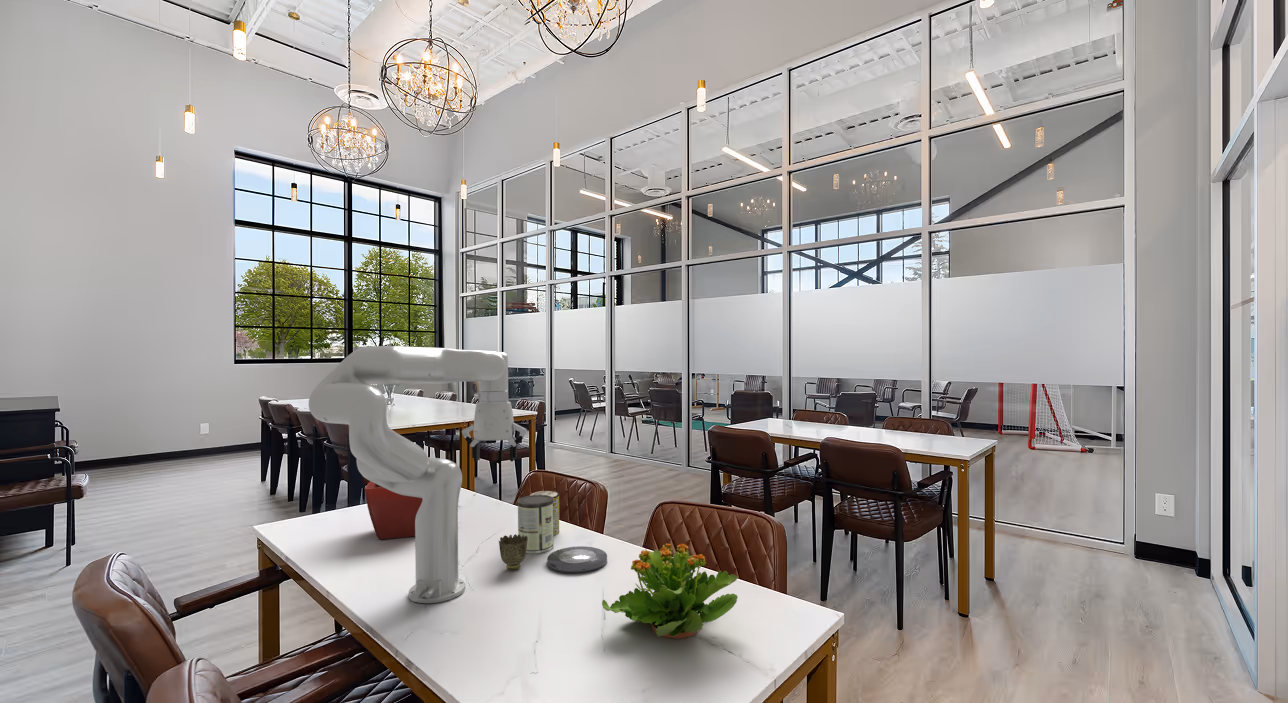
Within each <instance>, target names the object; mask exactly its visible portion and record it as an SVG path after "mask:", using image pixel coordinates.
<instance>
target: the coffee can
mask: <svg viewBox="0 0 1288 703" xmlns="http://www.w3.org/2000/svg"><path fill="white" fill-rule="evenodd" d="M517 528H518V529H517V533H518V534H519V535H520V536H521V537H522V536H523V535H524V537H525V536H527V537H528V541H527V550H526V554H529V555H531V554H543V553H547V552H549V551H551V550H553V549H554V546H555V543H554V537H555V536H553V497H551V496H547V495H531V496H530V495H527V496H523V497H520V498H518V499H517ZM518 534H517V535H518Z"/></svg>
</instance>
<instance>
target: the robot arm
mask: <svg viewBox="0 0 1288 703" xmlns="http://www.w3.org/2000/svg"><path fill="white" fill-rule="evenodd" d="M463 382H465V383H466V382H479V390H478V392H477V393H474V394H473V397H474V399H478V401H479V402H476V404H475V410H474V417H473V424H471V425H470V426H468V427H466V428H464V429H463V430H461V434H462V435H463V438H464V439H465V441H466V442H467V443H468V444H469V445H470V447H471V456H472V459H473V462H474V463H477V462H478V461H479V460H481V450H480V449H481V446H480V445H479V443H480V442H481V441H508V442H509V444H510V447H509V461H510V462H514V461H515V460H516V459H517V456H518V445H519V444H520V442H522V441H523V439H525V438H524V437H525V435H526V434H527V432H528V430H527V428H525V427H523V426H521V425H519V424H518V423H515V421H514V412H513V408H512V402H511V401H509V358H508V354H507V353H506V352H503V351H494V350H472V349H471V350H468V349H455V348H446V347H445V348H444V347H430V346H429V347H428V346H427V347H424V346H399V345H379V346H376V345H375V346H369V345H368V346H362V347H360V348H357V349H355V350H354V351H353V352H351V353H350V354H348V355H347V356H346V357H345V358H344V359H343V360H342V361H341V362H340V363H338V364H337V365H336V366H335V367H334V368H332V370H331V371H330V372H329V373H327V375H326V376H325V377H324V378H322V380H320V382H318V384H317V385H316V386H315V387H314V388H313V390H312V392H311V393H310V395H309V398H308V410H309V412H310V414H311V415H312V416H313V417H314V418H315V419H316V420H318V421H320V422H322V423H323V422H324V423H327V424H336V425H337V424H339V425H348V436H349V437H348V440H349V442H348V443H349V448H350V453H351V454H352V456H354V457H355V459H356V467H357V470H358V472H359V473H360V474H361V476H362V477H363V478H364V479H366V480H367V481H369V482H370V481H371V482H373V483H375V484H378V485H380V486H382V487H384V488H386V489H388V490H390V491H392V492H395V493H397V494H400V495H404V496H410V497H418V498H422V499H423V500H422V503H421V506H420V508H419V510H418V512H417V514H416V519H415V536H414V539H415V541H414V542H415V543H414V544H415V545H414V546H415V548H414V549H415V553H414V554H415V555H414V556H415V561H414V562H415V584H414V585H412V586H411V587H410V588H409V590H408V598H409V600H411V601H412V602H415V603H419V604H436V603H437V604H438V603H442V602H446V601H449V600H453V599H454V598H457V597H458V596H460V595H461V594H463V593H464V592H465V590H466V582H465V580H463V579H461V578H459V502H460V501H459V500H460V493H461V489H462V483H463V474H462V470H461V468H460V467H459V465H458V464H457V463H456V462H454V461H452V460H450V459H446V458H439V457H430V456H429V457H428V454H427V452H426V451H425V449H423V448H422V447H421V446H420V445H418V444H417V443H415V442H413V441H411V440H410V439H408V438H406V437H405V436H402V435H401V434H399V433H398V432H396V431H394V430H393V429H392V428H391V427H389V425H388V420H387V415H388V414H387V411H388V410H387V409H388V408H387V407H388V406H387V401H386V397H385V395H384V394H383V392H382V391H381V390H380V389H379V388H378V387H377V386H374V385H382V386H383V385H384V386H387V385H388V386H401V385H426V384H427V385H429V384H431V385H432V384H433V385H434V384H451V383H463ZM472 431H473V436H472V435H471V434H470V432H472ZM515 431H517V432H519V435H518V436H517V438H516V437H515V436H514V434H515Z"/></svg>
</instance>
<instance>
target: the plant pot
mask: <svg viewBox="0 0 1288 703" xmlns="http://www.w3.org/2000/svg"><path fill="white" fill-rule="evenodd" d="M364 496H365V500H366V505H367V509H368V513H369V514H368V515H369V517H370V520H371V521H370V522H371V524H372V527H373V529H374V532H375V535H376V537H377V539H378V540H389V539H397V538H399V539H400V538H408V537H415V519H416V514H417V512H418V510H419V508H420V506H421V503H422V500H423V499H422V498H418V497H410V496H404V495H400V494H397V493H395V492H392V491H390V490H388V489H386V488H384V487H382V486H380V485H378V484H375V483H373V482H371V481H369V482H368V483H367V485H366V486H365V487H364Z"/></svg>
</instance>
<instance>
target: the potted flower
mask: <svg viewBox="0 0 1288 703" xmlns="http://www.w3.org/2000/svg"><path fill="white" fill-rule="evenodd" d="M673 551H674V549H673V548H672V544H670V543H665V544H663V545H662V547H660V549H659V550H658V549H654V550H653V551H650V550H644V549H641V551H640V553H639V554H638V558H639V559H634V560H632V561H631V564H632V565H630V570H632V571H635V573H636V574H637V579H638V583H639V584H637V583H635V585H636V587H635V588H634V589H633V591H631V590H628V592H627V593H626V594H621V595H620V596H619V597H618V600H615V601H614V602H612V603H611V605H610V606H609V604H608V601H606V599H603V600H602V602H601V604H602V608H603V609H604V610H605V611H606V612H609V611H610V612H613V613H615V614H617V613H623V614H624V613H625V614H624V616H625V617H626V618H629V620H631V621H632V622H634V621H635V622H641V623H643V624H651V627H652V630H653V633H655V635H656V637H664V638H666V639H673V640H675V639H684V638H689V637H692V636H694V635H695V634H696V633H698V632H699V631H701V630H703V625H704V624H705V623H711V622H713V621H716V620H717V619H719V618H721V617H722V616H724V615H725V614H726V613H728V612H729V611H731V610H732V608H733V607H734V606H735V605H736V603H737V601H738V595H737V594H735V593H731V594H730V593H726V594H722V595H720V596H717V597H716V598H715V599H712V600H711V601H710V602H709V603H705V601H706V600H708V599H709V598H710V597H711V596H713V595H714V594H717V592H719V591H720V590H722V589H723V588H727V587H728V586H731V584H733V583H734V582H736V581H737V579H738V578H739V575H738V576H736V575H735V574H733V573H731V574H729V572H728V571H726V570H723V572H722V570H718V572H717V574H716V575H715V574H710V575H709V576H708V574H707V571H706V570H704V571H703V572H701V571H699V570H700V569H701V568H702V566H703V567H705V565H706V564H707V562H706V557H705V556H704V555H703V554H696V555H695V554H692V555H690V551H689V546H688V545H687V544H685V543H680V544H678V545H677V548H676V552H674V554H673ZM672 554H673V555H672ZM695 569H697V572H696V570H695ZM695 572H696V575H695V576H694V574H695ZM642 583H643V584H642ZM639 585H640V586H639ZM643 585H644V586H645V588H644V587H643ZM703 623H704V624H703Z"/></svg>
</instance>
